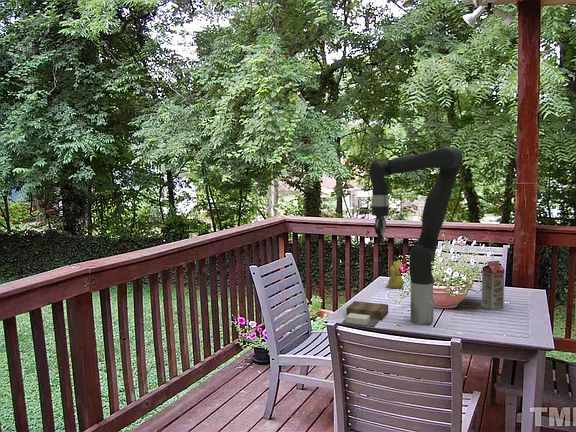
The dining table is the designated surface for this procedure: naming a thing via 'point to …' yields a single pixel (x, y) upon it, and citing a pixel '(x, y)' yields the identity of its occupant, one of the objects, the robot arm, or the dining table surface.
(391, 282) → the figurine
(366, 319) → the tile
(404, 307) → the dining table surface
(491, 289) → the juice carton
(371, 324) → the mat
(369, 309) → the brown flat block
